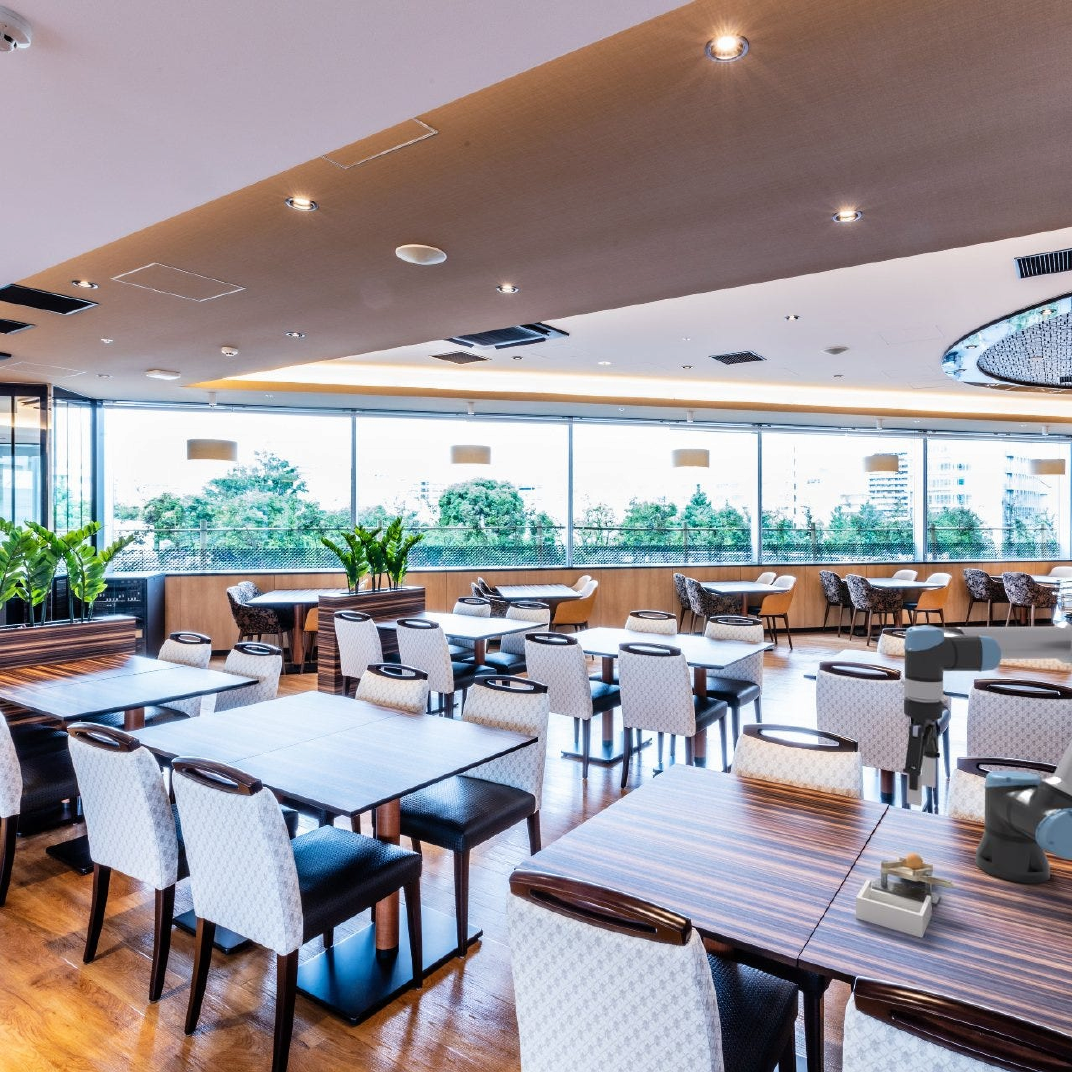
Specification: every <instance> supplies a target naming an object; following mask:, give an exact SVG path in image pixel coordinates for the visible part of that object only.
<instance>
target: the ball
mask: <svg viewBox="0 0 1072 1072" xmlns="http://www.w3.org/2000/svg"><path fill="white" fill-rule="evenodd" d="M905 859H906V863H907V865H908V866H909V867H910V868H911V869H914V870H918V869H920V868H921V867H922V865H923V863H924V861H923V858H922V857H921V856H920V855H918V854H917V853H910V854H908V855H907V856H906V858H905Z"/></svg>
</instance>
